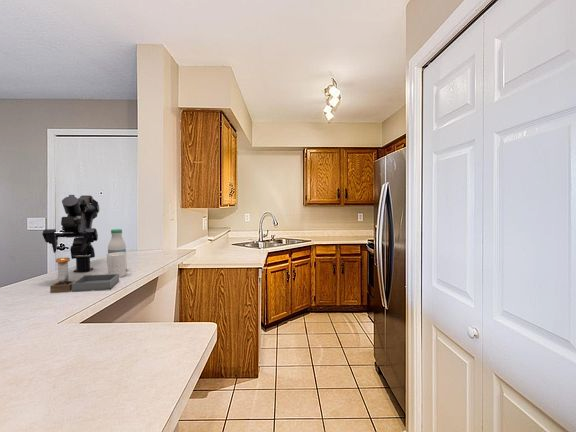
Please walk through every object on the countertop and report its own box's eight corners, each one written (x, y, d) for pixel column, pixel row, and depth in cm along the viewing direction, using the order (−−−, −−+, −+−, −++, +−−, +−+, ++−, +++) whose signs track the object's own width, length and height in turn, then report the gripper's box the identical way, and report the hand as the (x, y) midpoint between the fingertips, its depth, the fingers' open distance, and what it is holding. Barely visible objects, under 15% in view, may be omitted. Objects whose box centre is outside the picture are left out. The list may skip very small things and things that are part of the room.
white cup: (130, 274, 151) (130, 252, 150) (120, 278, 143) (119, 255, 142) (114, 273, 152) (113, 252, 151) (103, 277, 144) (102, 255, 143)
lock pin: (59, 288, 127) (58, 257, 126) (72, 287, 128) (71, 257, 127) (54, 291, 123) (53, 260, 122) (68, 291, 124) (66, 259, 123)
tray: (84, 282, 136) (84, 275, 136) (118, 280, 139) (118, 273, 139) (72, 291, 123) (71, 283, 123) (110, 289, 126) (110, 282, 126)
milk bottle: (108, 270, 157) (107, 228, 156) (126, 269, 161) (125, 228, 159) (107, 274, 150) (106, 230, 149) (126, 272, 154) (125, 229, 152)
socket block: (57, 287, 128) (57, 281, 128) (76, 286, 129) (76, 280, 129) (50, 292, 122) (50, 286, 122) (69, 291, 123) (69, 285, 123)
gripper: (42, 209, 132) (34, 240, 123) (95, 209, 139) (91, 238, 130) (49, 227, 140) (42, 257, 131) (99, 226, 147) (95, 254, 137)
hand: (67, 251), depth 132 cm, fingers open, 9 cm apart
